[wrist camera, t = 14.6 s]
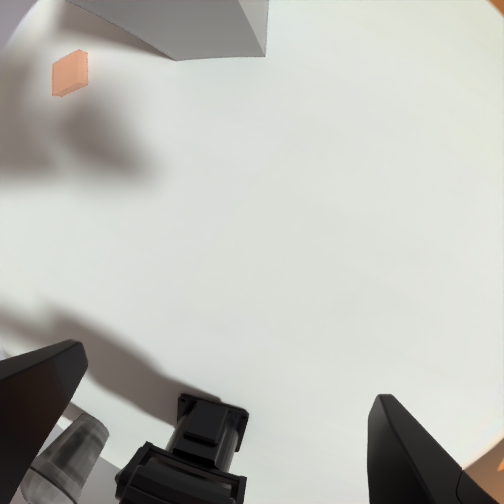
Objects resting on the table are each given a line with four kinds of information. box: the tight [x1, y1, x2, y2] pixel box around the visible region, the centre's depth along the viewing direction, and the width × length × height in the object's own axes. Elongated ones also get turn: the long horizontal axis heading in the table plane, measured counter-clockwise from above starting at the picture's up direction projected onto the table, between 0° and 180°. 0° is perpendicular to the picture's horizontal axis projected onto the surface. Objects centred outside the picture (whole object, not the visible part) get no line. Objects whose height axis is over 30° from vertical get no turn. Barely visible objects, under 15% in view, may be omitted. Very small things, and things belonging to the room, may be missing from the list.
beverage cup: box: [20, 414, 109, 504], centre depth 22 cm, size 7×7×20 cm
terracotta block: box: [52, 50, 88, 97], centre depth 18 cm, size 3×3×2 cm
